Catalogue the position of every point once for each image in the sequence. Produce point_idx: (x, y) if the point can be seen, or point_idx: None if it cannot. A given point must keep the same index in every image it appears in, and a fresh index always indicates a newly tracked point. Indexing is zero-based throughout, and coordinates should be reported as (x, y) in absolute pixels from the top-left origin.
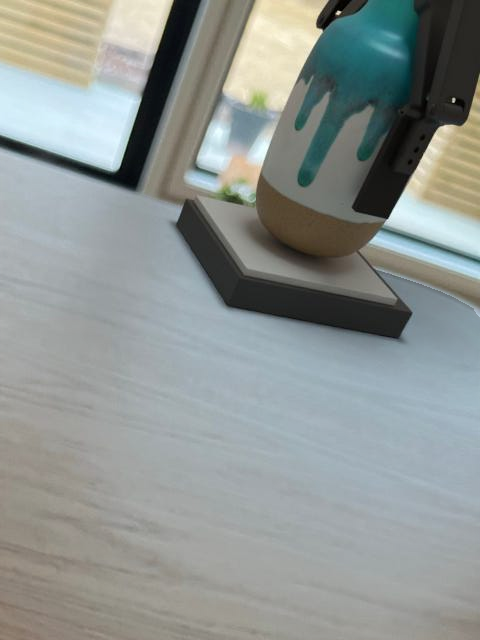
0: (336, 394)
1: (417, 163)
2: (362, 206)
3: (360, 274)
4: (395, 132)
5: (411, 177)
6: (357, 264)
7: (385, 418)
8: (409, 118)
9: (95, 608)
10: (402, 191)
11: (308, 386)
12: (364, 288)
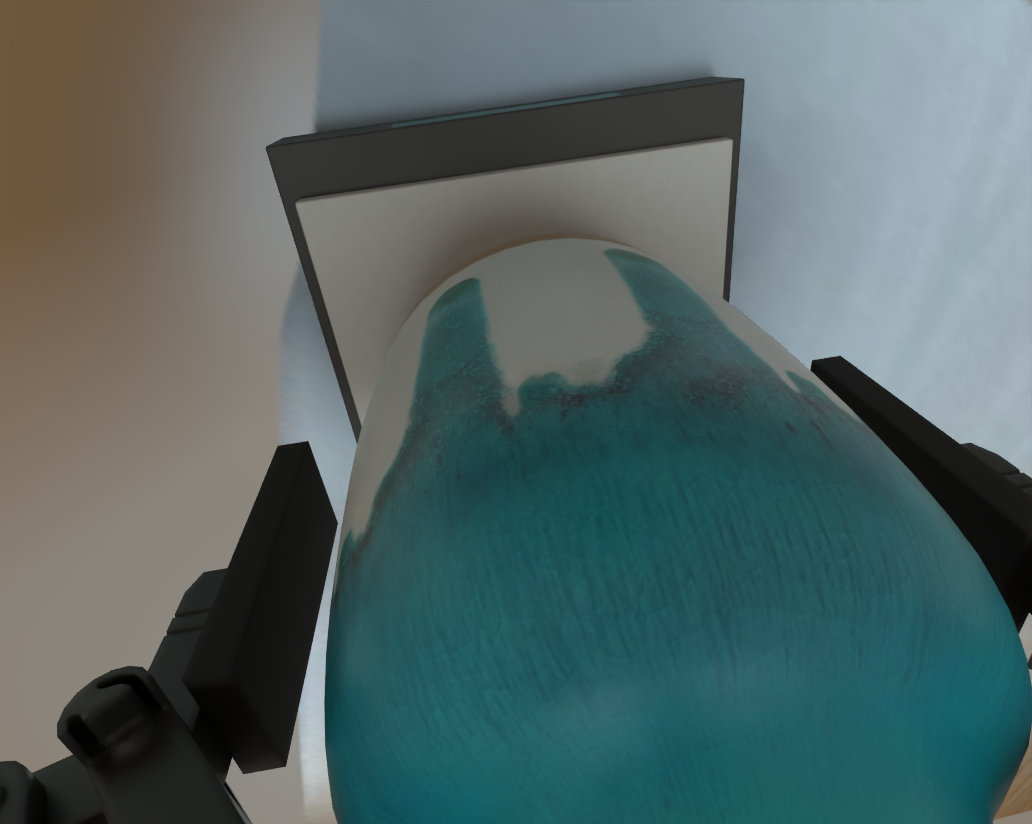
0: (950, 322)
1: (1008, 468)
2: None
3: (624, 217)
4: None
5: (720, 299)
6: (561, 206)
7: (1023, 246)
8: (1024, 612)
9: None
10: (889, 392)
11: (928, 366)
12: (706, 233)
